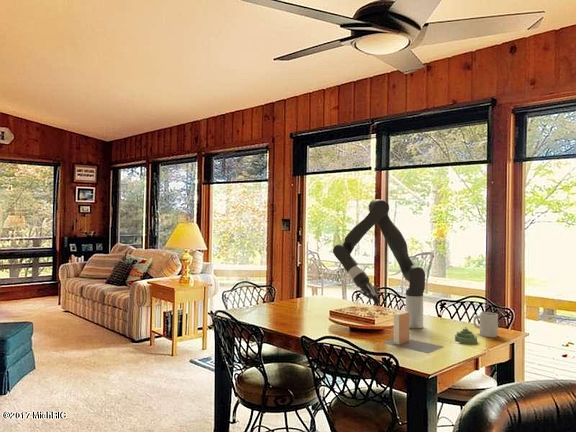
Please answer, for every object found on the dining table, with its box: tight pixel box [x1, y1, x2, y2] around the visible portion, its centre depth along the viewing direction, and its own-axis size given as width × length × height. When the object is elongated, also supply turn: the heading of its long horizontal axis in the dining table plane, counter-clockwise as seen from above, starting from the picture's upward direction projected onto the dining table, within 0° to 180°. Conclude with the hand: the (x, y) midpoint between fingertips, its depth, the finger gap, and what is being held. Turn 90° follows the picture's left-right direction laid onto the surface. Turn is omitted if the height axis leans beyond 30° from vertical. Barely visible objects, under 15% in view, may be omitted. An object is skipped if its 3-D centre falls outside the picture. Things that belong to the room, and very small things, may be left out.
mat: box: [382, 338, 445, 354], centre depth 216 cm, size 24×15×1 cm, turn 45°
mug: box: [473, 311, 499, 338], centre depth 236 cm, size 12×8×11 cm
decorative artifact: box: [454, 326, 478, 345], centre depth 224 cm, size 10×7×10 cm
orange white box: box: [393, 310, 410, 344], centre depth 220 cm, size 3×9×14 cm, turn 135°
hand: (378, 303), depth 229 cm, fingers closed
